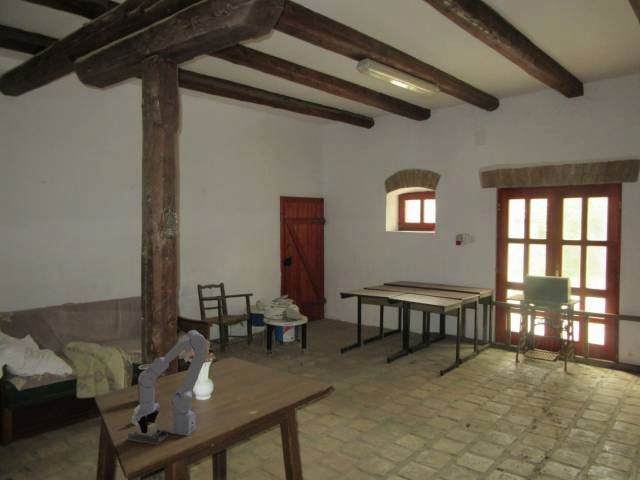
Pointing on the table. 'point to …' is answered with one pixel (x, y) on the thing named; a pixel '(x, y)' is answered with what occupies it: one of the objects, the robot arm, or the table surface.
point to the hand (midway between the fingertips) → (147, 430)
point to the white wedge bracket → (135, 414)
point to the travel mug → (141, 368)
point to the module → (150, 431)
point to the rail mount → (149, 437)
